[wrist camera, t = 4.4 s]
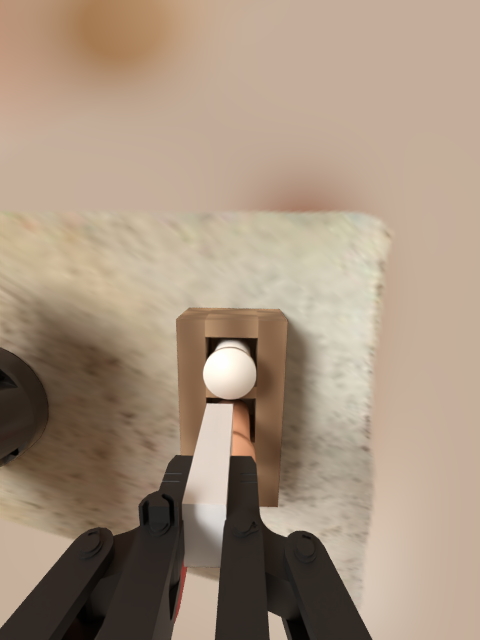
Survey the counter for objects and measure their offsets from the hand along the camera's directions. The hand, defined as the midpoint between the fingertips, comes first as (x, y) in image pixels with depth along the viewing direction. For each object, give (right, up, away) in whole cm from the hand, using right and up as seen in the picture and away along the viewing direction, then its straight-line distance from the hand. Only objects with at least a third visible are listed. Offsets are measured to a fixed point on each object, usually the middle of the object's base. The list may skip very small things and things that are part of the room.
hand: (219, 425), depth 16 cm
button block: (0, -2, +17) cm, 17 cm away
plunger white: (0, +3, +14) cm, 14 cm away
